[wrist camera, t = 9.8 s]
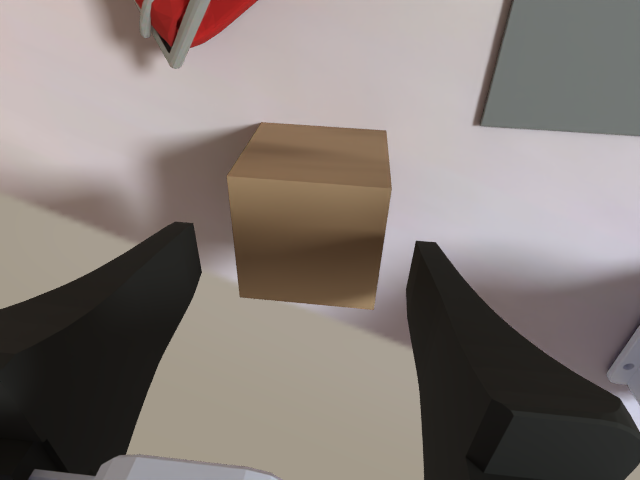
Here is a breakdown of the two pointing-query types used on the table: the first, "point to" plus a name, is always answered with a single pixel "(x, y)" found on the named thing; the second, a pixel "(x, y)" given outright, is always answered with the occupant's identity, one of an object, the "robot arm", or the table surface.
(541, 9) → the letter mat
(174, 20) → the tracker holder
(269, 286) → the walnut cube
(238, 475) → the robot arm
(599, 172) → the table surface
